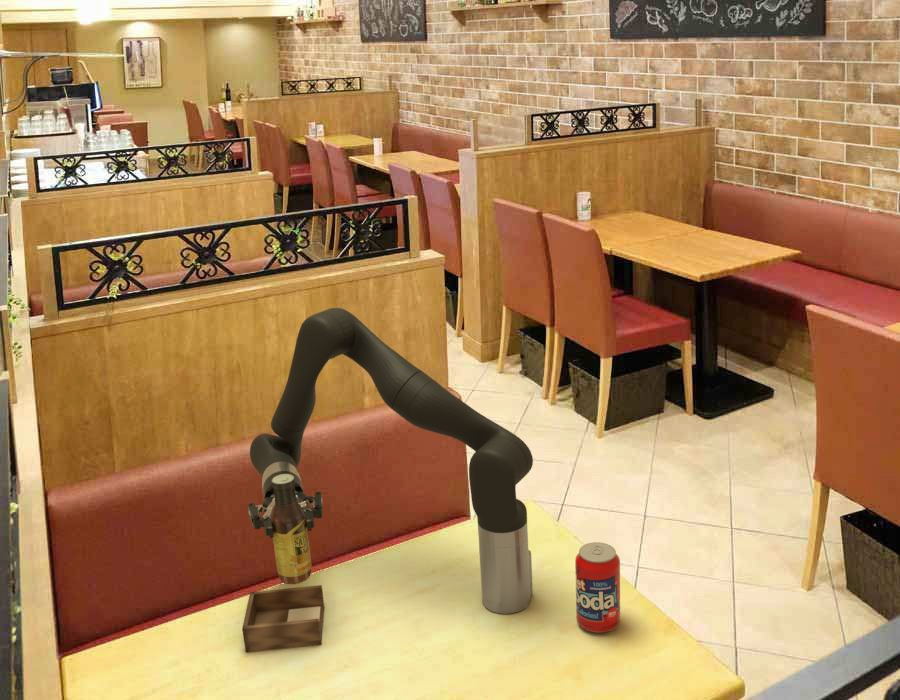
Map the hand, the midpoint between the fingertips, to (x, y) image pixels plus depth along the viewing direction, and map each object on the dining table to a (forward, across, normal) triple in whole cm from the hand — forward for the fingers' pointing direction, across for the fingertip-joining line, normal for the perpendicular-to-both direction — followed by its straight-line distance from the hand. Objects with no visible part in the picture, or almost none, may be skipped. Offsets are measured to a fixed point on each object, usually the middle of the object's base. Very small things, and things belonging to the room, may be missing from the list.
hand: (290, 529), depth 163 cm
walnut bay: (-3, -3, +22) cm, 22 cm away
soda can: (+15, +52, +22) cm, 58 cm away
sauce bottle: (-2, 0, +11) cm, 11 cm away
